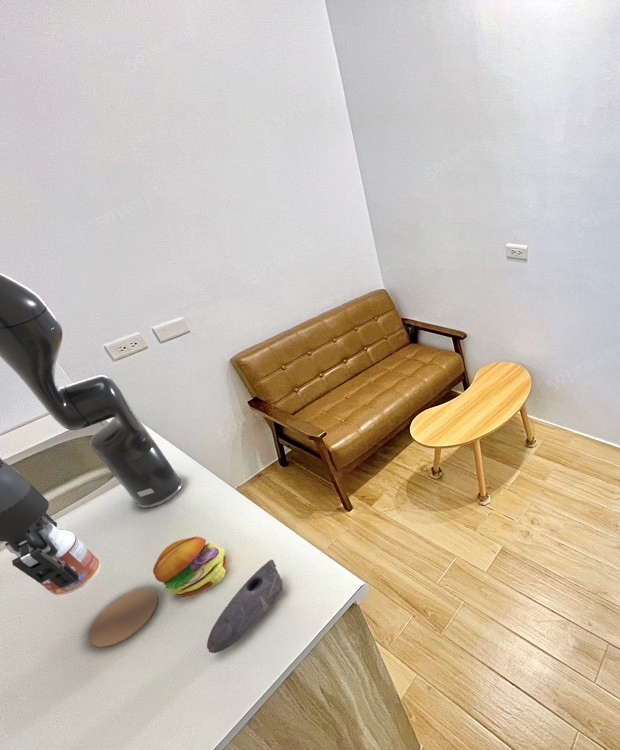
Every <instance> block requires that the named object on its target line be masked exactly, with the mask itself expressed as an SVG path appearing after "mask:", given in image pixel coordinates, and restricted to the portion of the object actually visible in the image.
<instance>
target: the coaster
mask: <svg viewBox="0 0 620 750" xmlns="http://www.w3.org/2000/svg"><path fill="white" fill-rule="evenodd" d="M158 605H159V595H158V594H157V592H156V591H154V590H152V589H150V588H149V589H148V588H142V589H137V590H134V591H130V592H128V593H126V594H123V595H122V596H120V597H119V598H117V599H115V600H114V601H113V602H111V603H110V604H109V605H108V606H107V607H106V608H104V609H103V610H102V611H101V612H100V613H99V615H98V616H97V617H96V619H95V620H94V621H93V623H92V625H91V626H90V629H89V632H88V640H89V643H90V644H91V645H93V646H94V647H96V648H109V647H113V646H116V645H118V644H121V643H122V642H125V641H126V640H128V639H130V638H131V637H132V636H134V635H135V634H137V633H138V632H139V631H140V630H142V628H144V627H145V626H146V624H148V622H149V621H150V620H151V619H152V617H153V616H154V614H155V612H156V610H157V609H158Z"/></svg>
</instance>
